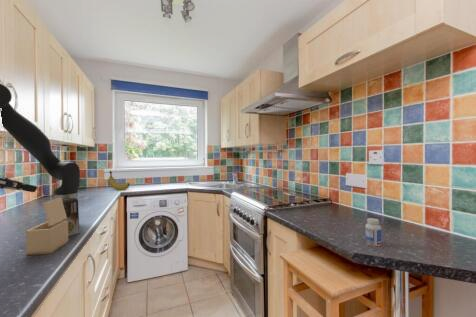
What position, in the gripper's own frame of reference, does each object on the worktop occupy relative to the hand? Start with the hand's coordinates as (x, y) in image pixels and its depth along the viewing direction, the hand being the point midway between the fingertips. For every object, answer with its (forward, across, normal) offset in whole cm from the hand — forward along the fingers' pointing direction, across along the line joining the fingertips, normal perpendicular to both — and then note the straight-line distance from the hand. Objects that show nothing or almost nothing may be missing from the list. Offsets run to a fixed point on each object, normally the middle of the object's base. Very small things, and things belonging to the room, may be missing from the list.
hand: (35, 189), depth 86 cm
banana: (+65, +131, -19) cm, 148 cm away
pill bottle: (+101, -91, -2) cm, 136 cm away
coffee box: (+17, +12, +17) cm, 27 cm away
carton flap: (+11, -4, +11) cm, 16 cm away
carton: (+12, -1, +21) cm, 24 cm away
